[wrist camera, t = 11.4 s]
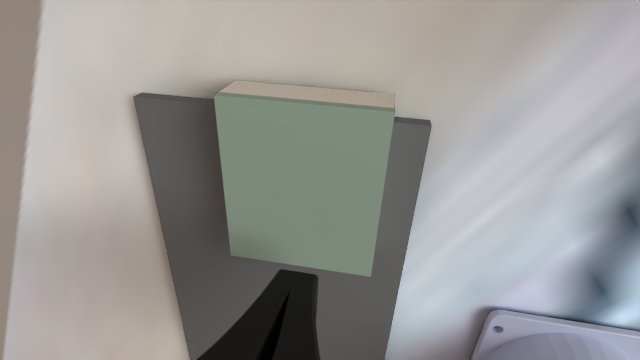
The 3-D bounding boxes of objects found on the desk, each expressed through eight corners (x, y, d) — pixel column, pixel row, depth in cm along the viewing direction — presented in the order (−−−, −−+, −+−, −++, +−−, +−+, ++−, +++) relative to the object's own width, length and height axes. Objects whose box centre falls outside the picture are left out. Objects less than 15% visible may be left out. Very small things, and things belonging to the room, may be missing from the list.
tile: (246, 227, 17) (373, 245, 17) (231, 255, 16) (370, 276, 15) (235, 80, 14) (394, 94, 13) (213, 95, 12) (394, 112, 11)
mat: (372, 410, 24) (372, 420, 23) (199, 375, 26) (195, 384, 25) (430, 120, 14) (431, 126, 14) (142, 93, 16) (133, 96, 15)
